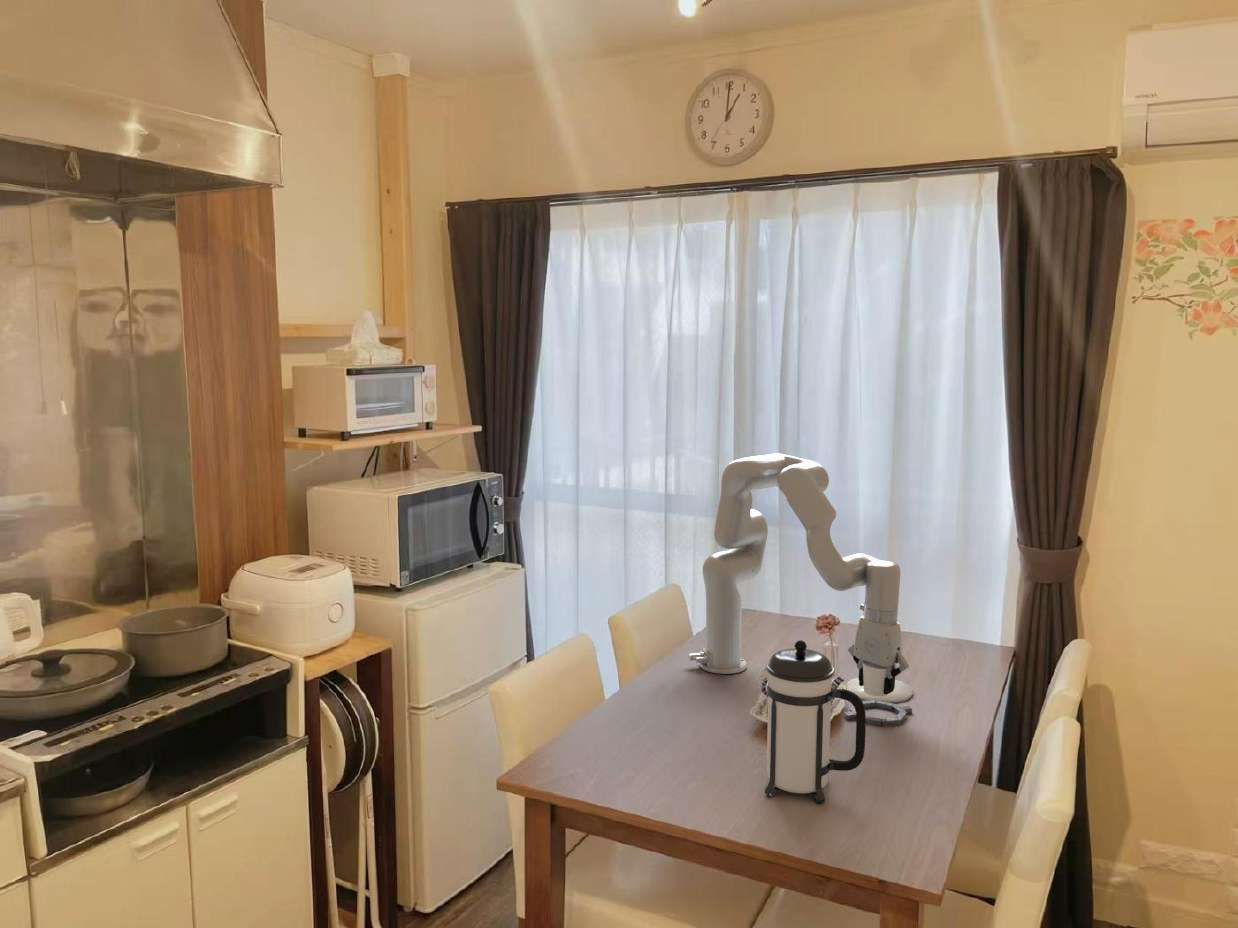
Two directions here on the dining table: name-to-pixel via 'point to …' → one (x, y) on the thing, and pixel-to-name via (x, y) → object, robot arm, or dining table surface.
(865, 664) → the white cup
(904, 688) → the saucer
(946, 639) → the dining table surface
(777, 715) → the coffee press
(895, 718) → the collar
